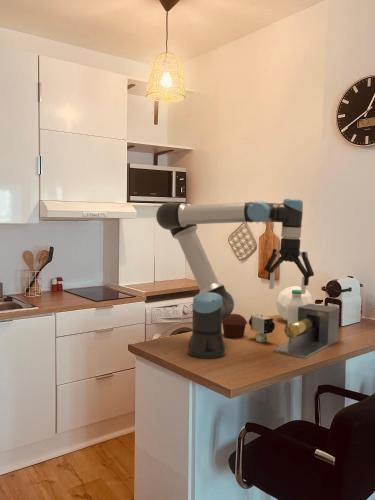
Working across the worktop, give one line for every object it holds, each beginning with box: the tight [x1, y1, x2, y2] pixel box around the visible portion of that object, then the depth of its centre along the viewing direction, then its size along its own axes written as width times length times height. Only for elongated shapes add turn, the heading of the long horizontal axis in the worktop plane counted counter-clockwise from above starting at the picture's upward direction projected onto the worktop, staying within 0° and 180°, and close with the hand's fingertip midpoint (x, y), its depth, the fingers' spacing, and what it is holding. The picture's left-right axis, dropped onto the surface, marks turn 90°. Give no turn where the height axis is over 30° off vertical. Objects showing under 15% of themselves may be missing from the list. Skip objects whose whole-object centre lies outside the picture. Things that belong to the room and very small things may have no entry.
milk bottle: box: [287, 290, 304, 324], centre depth 213 cm, size 8×8×20 cm
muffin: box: [222, 313, 248, 340], centre depth 203 cm, size 12×11×10 cm
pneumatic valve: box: [248, 313, 276, 344], centre depth 194 cm, size 6×12×12 cm, turn 35°
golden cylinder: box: [284, 319, 312, 339], centre depth 182 cm, size 6×15×6 cm, turn 141°
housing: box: [272, 303, 340, 359], centre depth 188 cm, size 14×34×15 cm, turn 141°
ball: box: [275, 285, 315, 322], centre depth 232 cm, size 19×20×20 cm
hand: (287, 291), depth 176 cm, fingers open, 13 cm apart
